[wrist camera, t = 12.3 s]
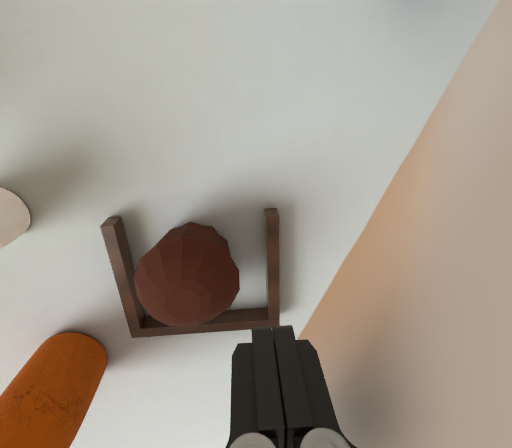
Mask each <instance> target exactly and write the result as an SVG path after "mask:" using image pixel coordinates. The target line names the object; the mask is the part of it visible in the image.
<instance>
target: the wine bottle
mask: <svg viewBox="0 0 512 448" xmlns="http://www.w3.org/2000/svg"><path fill="white" fill-rule="evenodd" d="M106 365H107V354H106V351H105V349H104V348H103V346H102V345H101V344H100V343H99V342H98V341H96V340H95V339H93V338H91V337H89V336H87V335H84V334H80V333H73V332H67V333H60V334H57V335H54V336H52V337H50V338H49V339H47V340H46V341H45V342H44V343H43V344H42V345H41V346H40V347H39V348H38V349H37V351H36V352H35V353H34V354H33V355H32V357H31V358H30V359H29V360H28V362H27V363H26V364H25V365H24V367H23V368H22V369H21V370H20V372H19V373H18V374H17V375H16V377H15V378H14V379H13V380H12V382H11V383H10V384H9V386H8V387H7V388H6V390H5V391H4V392H3V393H2V395H1V396H0V448H69V447H70V445H71V444H72V442H73V440H74V438H75V436H76V434H77V432H78V430H79V428H80V426H81V424H82V422H83V420H84V417H85V415H86V413H87V411H88V409H89V406H90V404H91V402H92V400H93V397H94V395H95V393H96V390H97V388H98V386H99V383H100V381H101V379H102V376H103V374H104V371H105V369H106Z"/></svg>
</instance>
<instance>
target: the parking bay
mask: <svg viewBox="0 0 512 448" xmlns="http://www.w3.org/2000/svg"><path fill="white" fill-rule="evenodd" d="M264 212H265V250H266V289H267V308H257V309H243V310H228V311H223V312H222V313H221V314H219V315H218V316H216V317H215V318H214V319H211V320H210V321H208V322H205V323H202V324H198V325H194V326H191V327H178V326H169V325H167V324H165V323H162V322H160V321H158V320H156V319H154V318H153V317H152V316H145V312H144V308H143V305H142V304H141V303H140V301H139V298H138V297H137V293H136V288H135V283H134V278H133V277H134V274H135V271H134V267H133V263H132V259H131V255H130V251H129V247H128V243H127V239H126V235H125V231H124V227H123V223H122V219H121V217H110V218H108V219H107V220H106V221H105V222H104V223H103V224H102V225H101V226H100V227H101V230H102V234H103V238H104V241H105V245H106V248H107V252H108V255H109V259H110V262H111V266H112V269H113V273H114V276H115V280H116V283H117V287H118V290H119V294H120V297H121V301H122V305H123V308H124V312H125V315H126V319H127V322H128V326H129V329H130V333H131V336H132V338H137V337H151V336H164V335H178V334H192V333H206V332H220V331H234V330H248V329H252V328H253V327H271V328H272V326H279V215H278V212H277V209H276V208H271V209H264Z"/></svg>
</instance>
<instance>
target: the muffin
mask: <svg viewBox="0 0 512 448" xmlns="http://www.w3.org/2000/svg"><path fill="white" fill-rule="evenodd" d="M133 278H134V283H135V288H136V293H137V297H138V298H139V301H140V303H141V304H142V305H143V307H144V308H145V309H146V310H147V311H148V313H149V314H150V315H151V316H152V317H153V318H154V319H156V320H158V321H160V322H162V323H165V324H167V325H169V326H178V327H191V326H194V325H198V324H202V323H205V322H208V321H210V320H211V319H214V318H215V317H216V316H218V315H219V314H221V313H222V312H223V311H225V310H226V309H228V308H229V307H230V306H231V304H232V302H233V301H234V299H235V297H236V295H237V293H238V292H239V290H240V288H239V269H238V268H237V266H236V265H235V263H234V261H233V260H232V258H231V255H230V251H229V247H228V243H227V241H226V240H225V239H224V238H223V237H222V236H220V235H219V234H218V233H217V231H216V230H215V229H214V228H213V227H212V226H205V225H199V224H196V223H192V222H189V223H187V224H185V225H183V226H181V227H178V228H175V229H171V230H170V231H169V232H168V233H167V234H166V235H165V236H164V237H163V238H162V239H161V240H160V241H159V242H158V243H157V244H156V245H155V246H154V247H153V248H152V249H151V250H150V251H149V252H147V253H146V254H145V255H144V256H143V257H141V258H140V261H139V264H138V266H137V269H136V272H135V274H134V277H133Z"/></svg>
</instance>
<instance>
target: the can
mask: <svg viewBox="0 0 512 448" xmlns="http://www.w3.org/2000/svg"><path fill="white" fill-rule="evenodd" d="M29 225H30V213H29V210H28V208H27V206H26V205H25V204H24V202H23V201H22V200H21V199H20V198H19V197H18V196H17V195H15V194H14V193H12V192H10V191H8V190H6V189H3V188H0V249H2V248H3V247H5V246H6V245H8V244H9V243H10V242H12V241H13V240H15V239H16V238H18V237H19V236H20V235H22V234H23V233H24V232H25V231H26V230H27V229H28V227H29Z"/></svg>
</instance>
